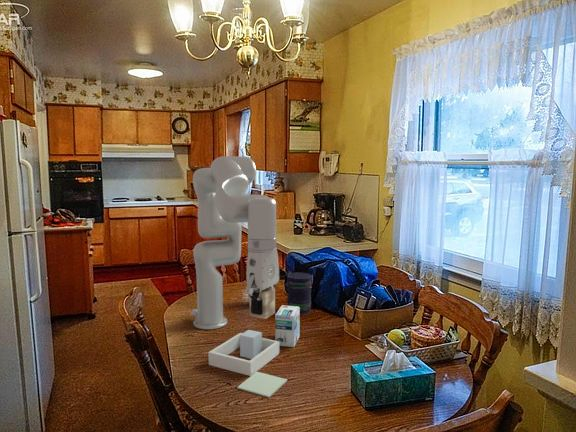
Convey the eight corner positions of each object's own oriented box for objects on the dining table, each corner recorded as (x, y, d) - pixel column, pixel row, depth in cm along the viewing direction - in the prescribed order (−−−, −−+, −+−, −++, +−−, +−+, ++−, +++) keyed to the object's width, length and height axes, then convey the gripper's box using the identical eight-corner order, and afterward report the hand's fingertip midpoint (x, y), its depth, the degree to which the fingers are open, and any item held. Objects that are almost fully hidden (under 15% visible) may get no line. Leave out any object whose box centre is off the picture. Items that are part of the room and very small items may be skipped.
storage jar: (315, 309, 184) (315, 274, 182) (303, 316, 175) (303, 279, 173) (294, 305, 189) (295, 271, 187) (282, 311, 181) (282, 276, 179)
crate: (208, 364, 134) (208, 352, 133) (240, 344, 148) (240, 332, 148) (250, 376, 127) (250, 362, 126) (279, 353, 142) (279, 341, 141)
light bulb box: (294, 347, 146) (294, 316, 145) (274, 346, 147) (274, 314, 146) (300, 335, 156) (300, 305, 155) (281, 333, 158) (281, 304, 156)
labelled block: (265, 319, 116) (265, 293, 115) (248, 315, 118) (248, 290, 118) (275, 313, 120) (275, 288, 120) (258, 310, 123) (258, 285, 122)
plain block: (240, 356, 140) (239, 335, 139) (248, 350, 144) (248, 329, 143) (253, 359, 137) (253, 338, 136) (261, 353, 142) (261, 332, 141)
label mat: (237, 388, 120) (237, 386, 120) (256, 372, 129) (256, 371, 129) (269, 397, 115) (269, 396, 115) (287, 380, 124) (287, 379, 124)
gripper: (257, 251, 108) (257, 323, 110) (289, 240, 123) (289, 303, 125) (231, 248, 111) (232, 318, 114) (266, 238, 126) (266, 299, 129)
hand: (262, 309), depth 119 cm, fingers closed on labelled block, 5 cm apart
